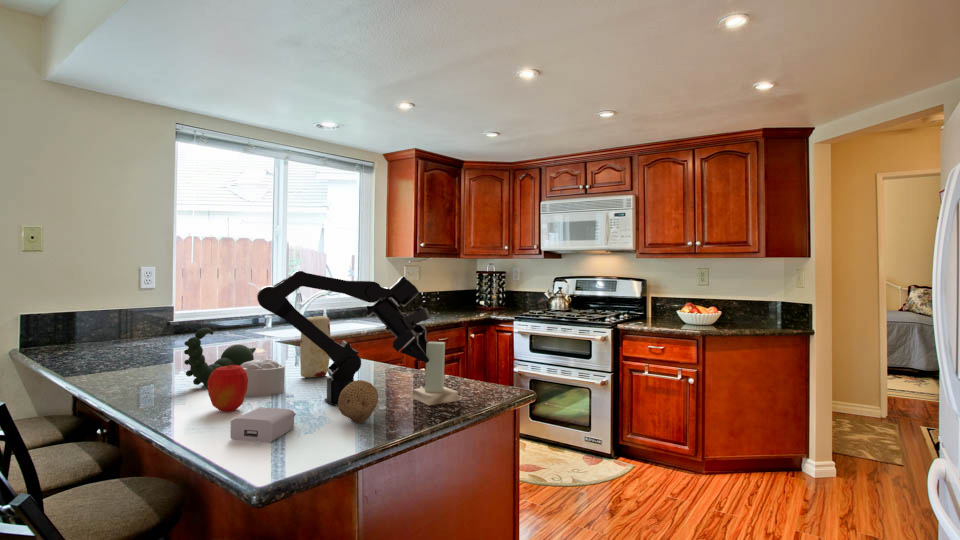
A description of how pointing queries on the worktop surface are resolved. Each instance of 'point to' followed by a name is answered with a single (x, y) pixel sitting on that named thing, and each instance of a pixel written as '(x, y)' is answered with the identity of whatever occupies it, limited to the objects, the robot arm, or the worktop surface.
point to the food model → (314, 351)
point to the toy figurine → (230, 355)
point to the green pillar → (435, 367)
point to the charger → (262, 424)
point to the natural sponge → (358, 401)
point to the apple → (227, 387)
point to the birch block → (435, 396)
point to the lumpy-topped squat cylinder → (264, 377)
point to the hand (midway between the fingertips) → (431, 358)
